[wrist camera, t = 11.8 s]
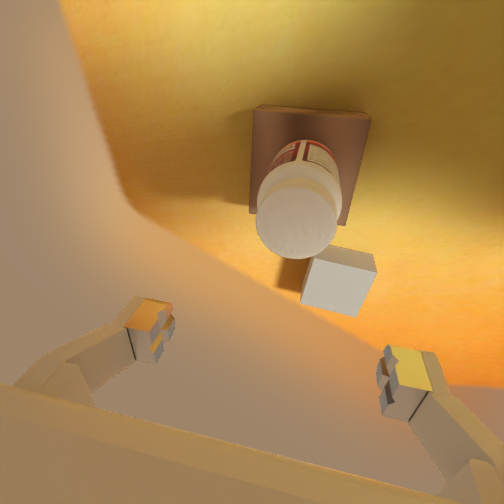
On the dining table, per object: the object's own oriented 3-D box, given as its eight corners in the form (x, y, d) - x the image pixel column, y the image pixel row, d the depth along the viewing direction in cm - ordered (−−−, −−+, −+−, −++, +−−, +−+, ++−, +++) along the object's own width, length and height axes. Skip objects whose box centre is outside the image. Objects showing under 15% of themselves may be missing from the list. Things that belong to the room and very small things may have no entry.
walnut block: (365, 112, 28) (371, 119, 25) (343, 209, 33) (345, 225, 30) (261, 104, 29) (253, 110, 26) (256, 199, 35) (248, 213, 32)
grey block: (372, 253, 36) (377, 272, 32) (353, 296, 40) (356, 317, 36) (315, 240, 36) (314, 258, 33) (302, 283, 40) (300, 303, 37)
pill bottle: (271, 200, 30) (247, 262, 21) (272, 137, 27) (245, 176, 18) (333, 204, 29) (337, 271, 20) (342, 138, 26) (353, 181, 16)
